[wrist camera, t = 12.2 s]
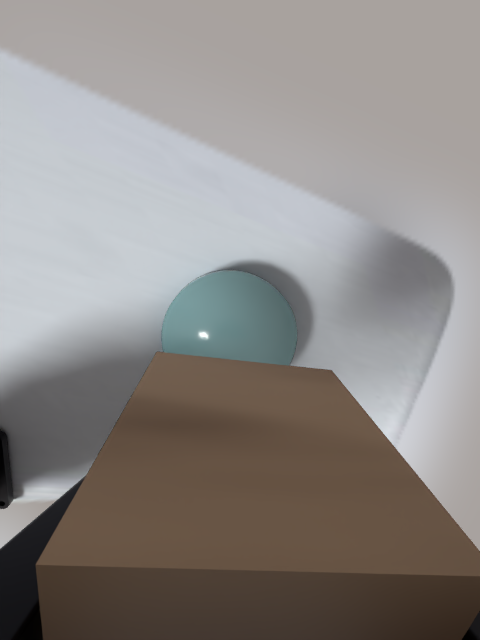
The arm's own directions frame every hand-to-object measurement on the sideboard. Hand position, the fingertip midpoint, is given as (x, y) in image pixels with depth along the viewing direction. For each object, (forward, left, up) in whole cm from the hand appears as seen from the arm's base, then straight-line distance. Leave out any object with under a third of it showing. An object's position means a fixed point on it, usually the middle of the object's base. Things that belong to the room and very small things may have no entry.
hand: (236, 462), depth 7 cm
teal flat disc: (0, 0, -10) cm, 10 cm away
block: (0, 0, -1) cm, 1 cm away
